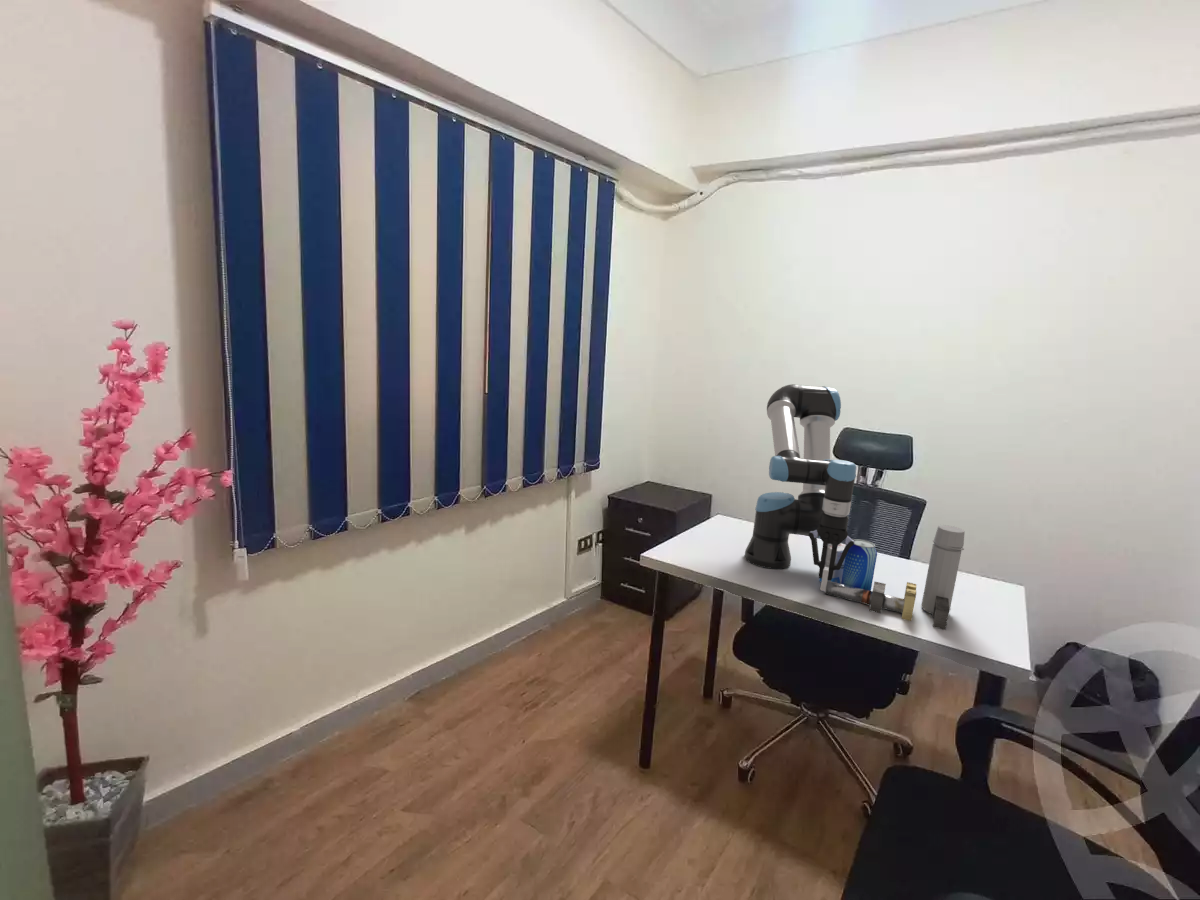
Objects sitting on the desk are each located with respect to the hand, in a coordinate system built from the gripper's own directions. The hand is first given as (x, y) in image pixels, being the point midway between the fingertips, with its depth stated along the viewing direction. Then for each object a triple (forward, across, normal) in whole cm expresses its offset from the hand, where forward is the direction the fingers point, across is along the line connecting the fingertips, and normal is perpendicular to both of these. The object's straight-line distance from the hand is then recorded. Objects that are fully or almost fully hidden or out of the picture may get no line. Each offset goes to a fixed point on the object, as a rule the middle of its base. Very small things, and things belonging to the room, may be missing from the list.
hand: (823, 589), depth 178 cm
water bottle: (+2, +30, +9) cm, 32 cm away
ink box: (+2, +1, +12) cm, 13 cm away
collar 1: (+2, +15, 0) cm, 15 cm away
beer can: (+2, +8, +7) cm, 11 cm away
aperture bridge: (+2, +23, +1) cm, 23 cm away
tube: (+2, +12, 0) cm, 12 cm away
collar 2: (+2, +31, +1) cm, 31 cm away
